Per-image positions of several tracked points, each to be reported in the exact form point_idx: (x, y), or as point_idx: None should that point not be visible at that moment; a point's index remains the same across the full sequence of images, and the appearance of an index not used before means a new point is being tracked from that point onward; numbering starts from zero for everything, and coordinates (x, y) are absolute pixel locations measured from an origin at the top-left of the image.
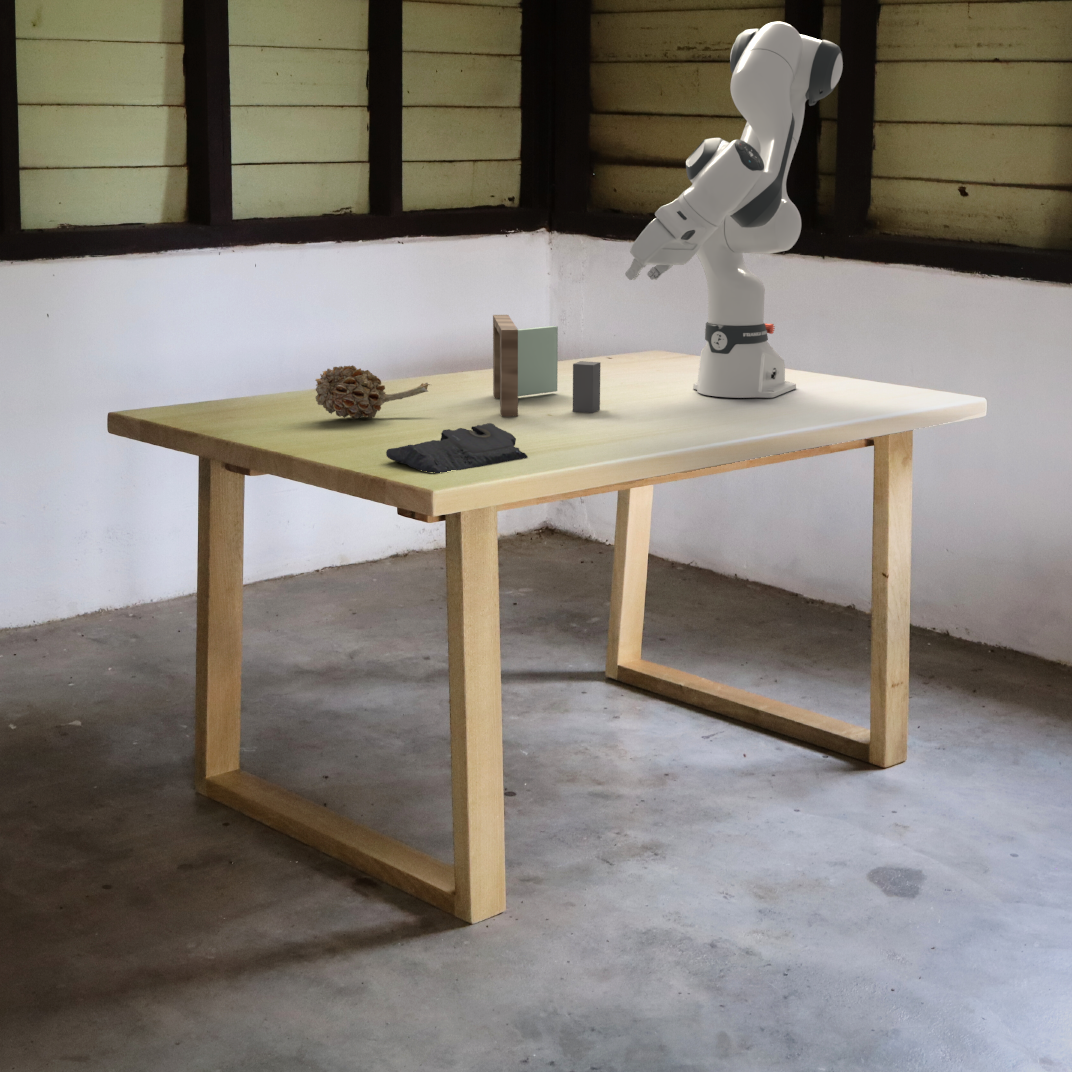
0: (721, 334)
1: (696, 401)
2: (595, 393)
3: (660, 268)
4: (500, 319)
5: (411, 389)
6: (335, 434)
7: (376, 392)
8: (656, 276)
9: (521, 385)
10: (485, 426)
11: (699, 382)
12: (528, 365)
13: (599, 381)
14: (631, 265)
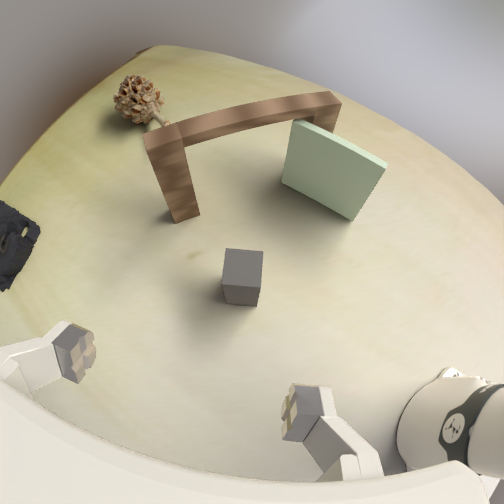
0: (457, 434)
1: (367, 410)
2: (237, 298)
3: (319, 444)
4: (278, 102)
5: (162, 120)
6: (83, 134)
7: (128, 111)
8: (282, 427)
9: (303, 184)
10: (10, 242)
11: (435, 386)
12: (319, 174)
13: (255, 296)
14: (30, 341)
